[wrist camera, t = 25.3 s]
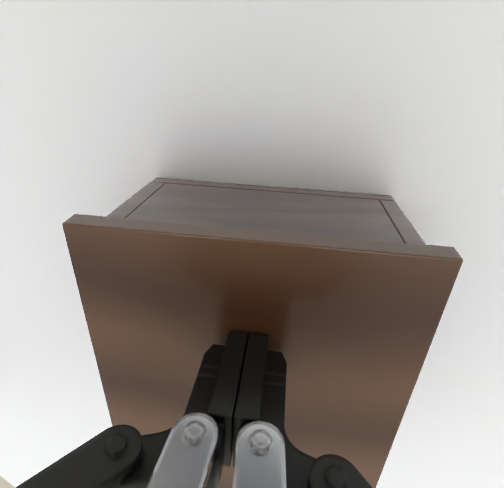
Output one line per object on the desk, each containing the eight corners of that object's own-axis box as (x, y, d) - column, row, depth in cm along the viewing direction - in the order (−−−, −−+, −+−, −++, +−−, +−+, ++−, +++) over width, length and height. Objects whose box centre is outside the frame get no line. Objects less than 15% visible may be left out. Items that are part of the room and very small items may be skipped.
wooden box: (156, 177, 20) (92, 226, 14) (391, 195, 19) (436, 257, 13) (172, 382, 27) (134, 475, 21) (344, 404, 26) (358, 509, 20)
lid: (74, 213, 12) (61, 223, 12) (454, 246, 11) (464, 259, 11) (134, 476, 21) (128, 491, 20) (358, 510, 19) (360, 527, 19)
